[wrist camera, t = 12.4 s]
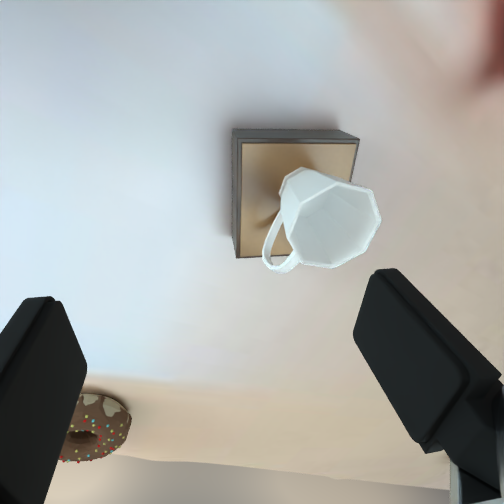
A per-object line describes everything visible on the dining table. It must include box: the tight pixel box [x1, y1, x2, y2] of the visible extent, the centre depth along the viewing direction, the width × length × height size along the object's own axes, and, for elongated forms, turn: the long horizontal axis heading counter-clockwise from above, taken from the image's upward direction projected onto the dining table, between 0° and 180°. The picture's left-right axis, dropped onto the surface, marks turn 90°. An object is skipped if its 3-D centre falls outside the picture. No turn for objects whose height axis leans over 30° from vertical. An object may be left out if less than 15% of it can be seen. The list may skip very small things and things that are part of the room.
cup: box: [262, 167, 382, 273], centre depth 25 cm, size 7×10×8 cm
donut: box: [58, 394, 132, 463], centre depth 45 cm, size 14×14×5 cm
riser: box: [232, 129, 360, 258], centre depth 30 cm, size 12×11×5 cm
